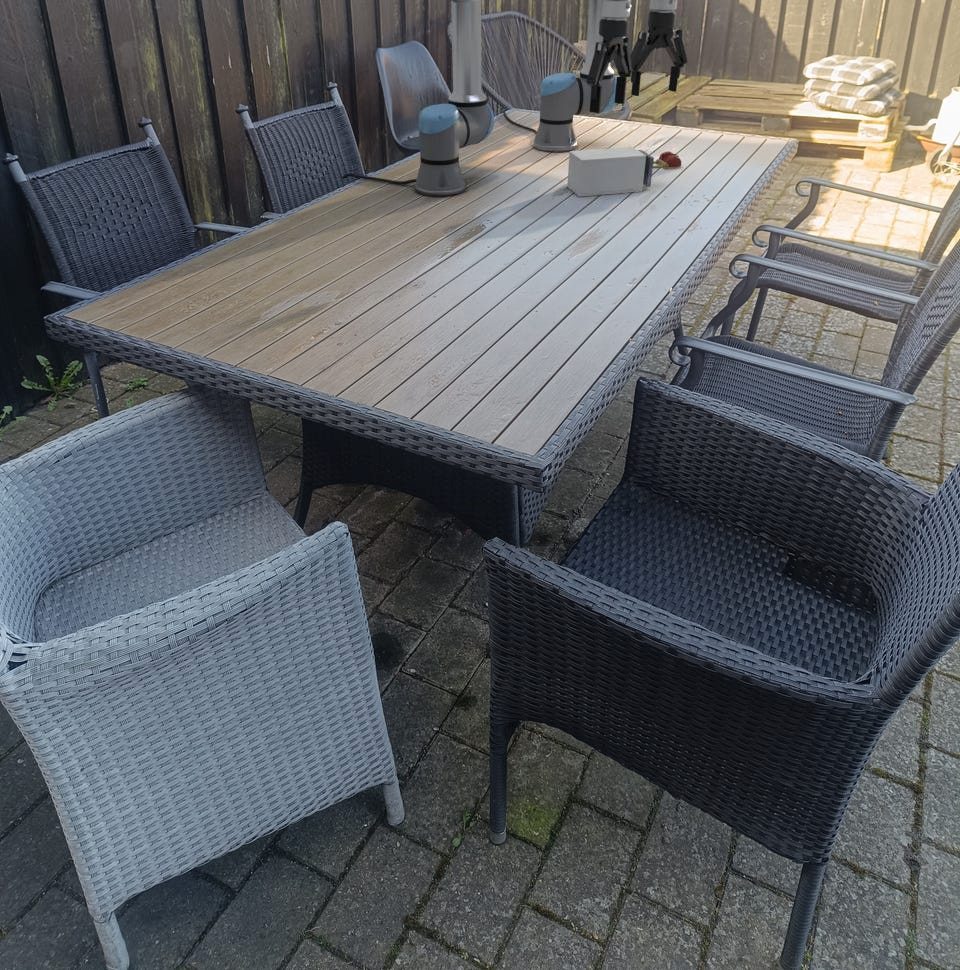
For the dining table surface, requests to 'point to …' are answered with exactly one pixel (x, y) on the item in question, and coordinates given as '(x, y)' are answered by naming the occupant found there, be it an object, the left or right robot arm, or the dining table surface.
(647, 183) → the drawer
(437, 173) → the left robot arm
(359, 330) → the dining table surface
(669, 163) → the dental model
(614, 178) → the grey rectangular block
